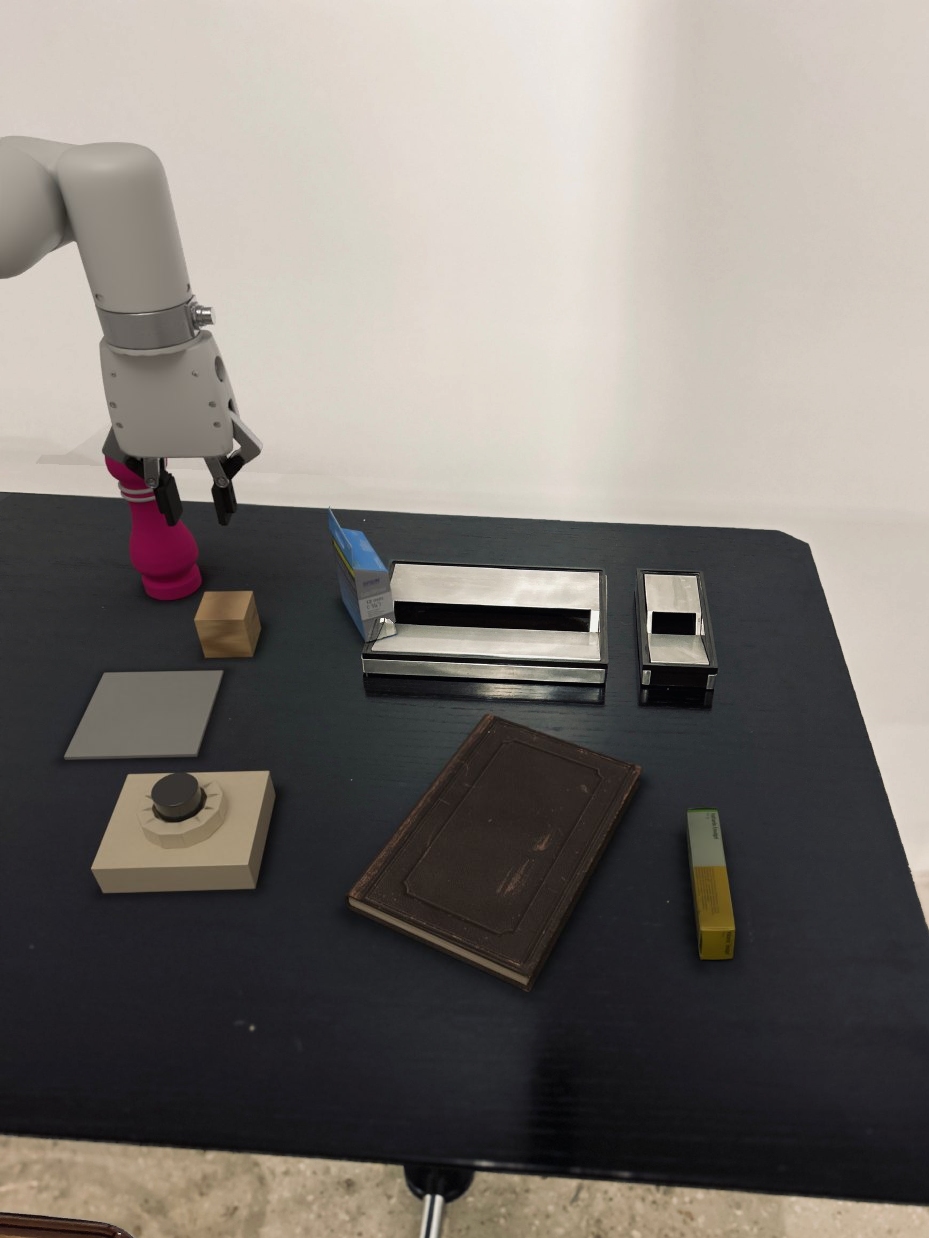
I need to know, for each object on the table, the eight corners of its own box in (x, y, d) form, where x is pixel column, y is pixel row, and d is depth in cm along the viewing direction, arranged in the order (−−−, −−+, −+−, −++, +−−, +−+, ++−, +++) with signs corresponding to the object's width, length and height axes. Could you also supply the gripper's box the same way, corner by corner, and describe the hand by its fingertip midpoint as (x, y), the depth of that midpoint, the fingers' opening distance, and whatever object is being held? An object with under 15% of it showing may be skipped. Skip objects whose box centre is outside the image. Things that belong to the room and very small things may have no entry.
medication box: (683, 837, 75) (685, 805, 72) (716, 836, 74) (719, 804, 72) (697, 960, 65) (700, 929, 63) (734, 960, 65) (738, 929, 62)
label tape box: (398, 635, 95) (389, 538, 87) (362, 645, 93) (349, 547, 85) (373, 593, 101) (361, 497, 92) (338, 601, 99) (324, 505, 91)
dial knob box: (103, 893, 69) (83, 854, 66) (138, 798, 77) (121, 759, 74) (255, 889, 70) (243, 849, 67) (275, 795, 77) (265, 755, 74)
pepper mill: (128, 598, 99) (71, 432, 86) (162, 564, 104) (113, 402, 91) (186, 608, 98) (137, 441, 85) (217, 573, 103) (176, 410, 90)
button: (152, 823, 69) (145, 806, 68) (164, 789, 72) (157, 772, 70) (198, 822, 69) (192, 805, 68) (208, 788, 72) (202, 771, 70)
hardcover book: (639, 784, 79) (642, 766, 77) (529, 993, 63) (529, 976, 62) (483, 728, 84) (483, 710, 83) (346, 909, 69) (342, 891, 67)
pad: (65, 759, 80) (63, 756, 80) (105, 675, 89) (104, 672, 89) (197, 756, 81) (196, 753, 80) (224, 673, 90) (223, 670, 89)
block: (204, 658, 91) (193, 619, 88) (215, 629, 95) (204, 591, 92) (253, 657, 92) (243, 619, 88) (261, 628, 95) (252, 590, 92)
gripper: (262, 306, 74) (295, 498, 87) (61, 307, 74) (123, 500, 86) (245, 338, 69) (284, 538, 81) (28, 339, 68) (99, 541, 80)
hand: (201, 517), depth 83 cm, fingers open, 4 cm apart
